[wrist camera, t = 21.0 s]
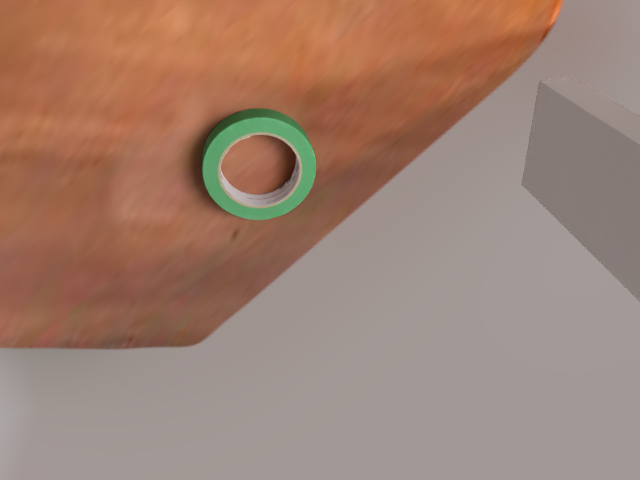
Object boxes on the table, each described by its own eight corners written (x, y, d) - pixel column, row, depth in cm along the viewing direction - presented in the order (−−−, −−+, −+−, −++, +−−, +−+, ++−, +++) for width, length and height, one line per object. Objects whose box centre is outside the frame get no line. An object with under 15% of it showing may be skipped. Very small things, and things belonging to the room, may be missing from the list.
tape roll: (227, 89, 48) (228, 99, 45) (330, 132, 52) (336, 144, 50) (186, 186, 53) (185, 200, 50) (283, 219, 57) (287, 232, 55)
